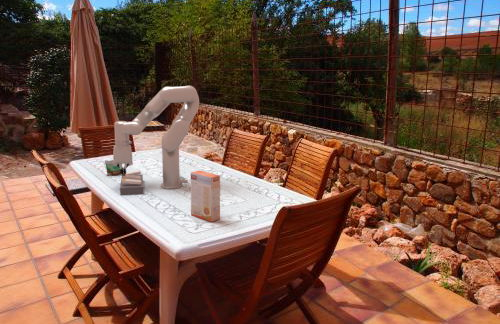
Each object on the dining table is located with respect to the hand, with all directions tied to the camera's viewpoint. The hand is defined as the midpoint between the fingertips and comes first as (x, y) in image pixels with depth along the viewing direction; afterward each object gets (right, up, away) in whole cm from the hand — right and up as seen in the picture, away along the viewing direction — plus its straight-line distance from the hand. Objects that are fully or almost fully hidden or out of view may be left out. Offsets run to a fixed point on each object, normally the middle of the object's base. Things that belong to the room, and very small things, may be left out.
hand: (123, 175), depth 225 cm
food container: (-14, -1, +30) cm, 33 cm away
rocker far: (+2, +1, +10) cm, 10 cm away
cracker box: (+51, -18, -42) cm, 69 cm away
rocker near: (+7, -3, -7) cm, 10 cm away
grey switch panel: (+4, -7, +5) cm, 9 cm away
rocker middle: (+4, -1, +1) cm, 5 cm away
